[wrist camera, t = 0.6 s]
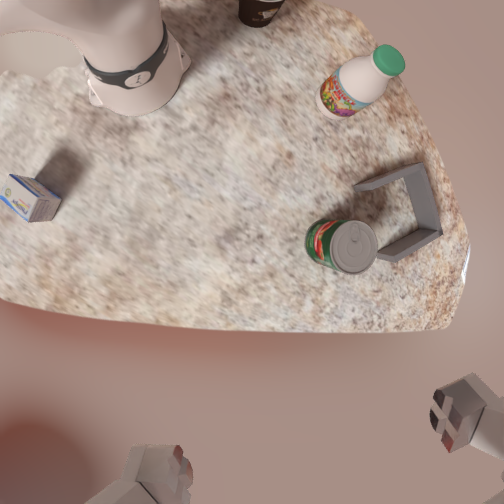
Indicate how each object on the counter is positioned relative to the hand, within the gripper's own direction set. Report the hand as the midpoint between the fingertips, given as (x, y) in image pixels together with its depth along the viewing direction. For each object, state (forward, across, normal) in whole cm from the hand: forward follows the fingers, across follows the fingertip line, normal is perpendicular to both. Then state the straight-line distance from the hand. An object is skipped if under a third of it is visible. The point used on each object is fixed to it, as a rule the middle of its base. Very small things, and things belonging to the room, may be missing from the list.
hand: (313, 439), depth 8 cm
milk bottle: (+49, -18, -18) cm, 55 cm away
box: (+48, -25, +4) cm, 54 cm away
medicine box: (+39, +36, -13) cm, 55 cm away
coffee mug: (+50, -9, -39) cm, 64 cm away
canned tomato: (+45, -11, +6) cm, 47 cm away
